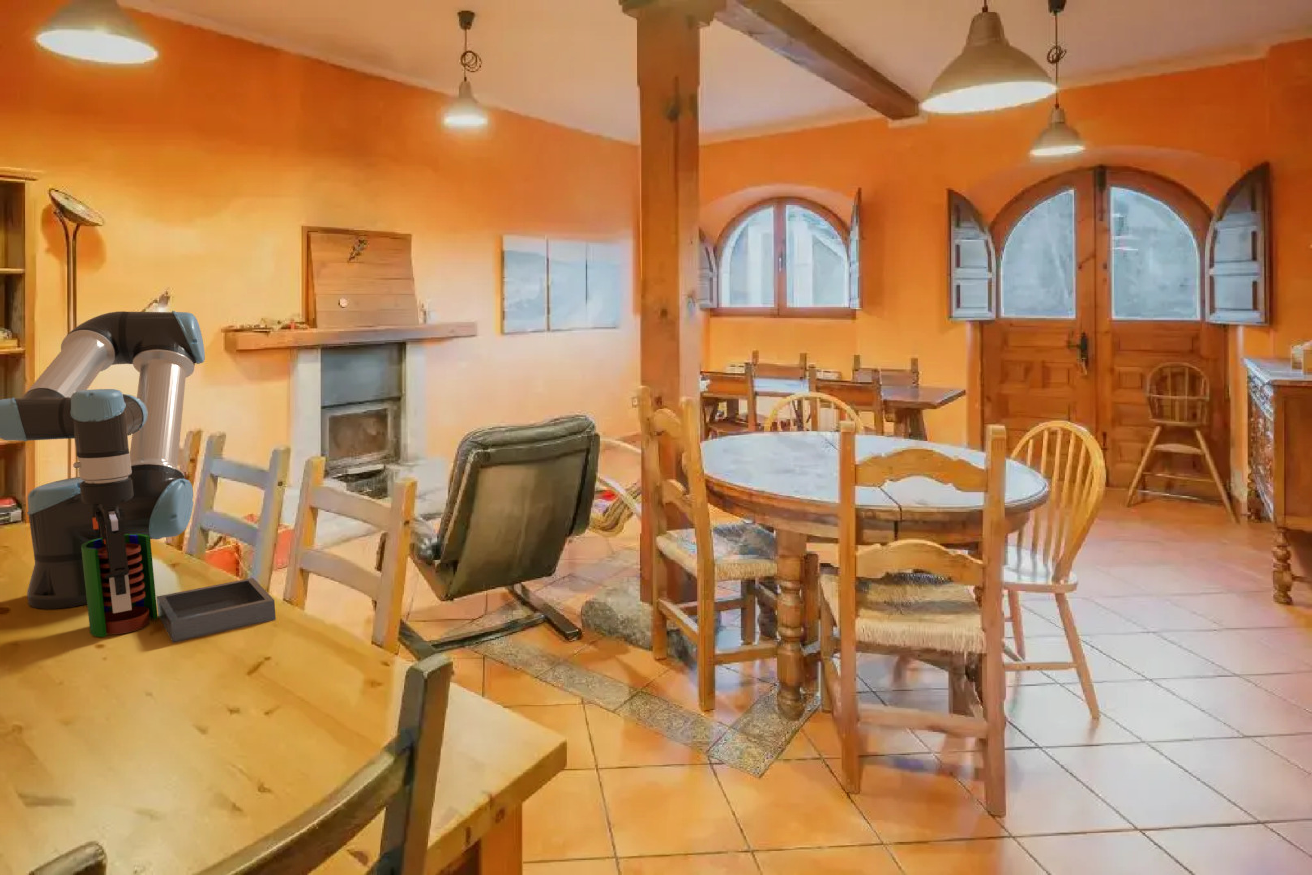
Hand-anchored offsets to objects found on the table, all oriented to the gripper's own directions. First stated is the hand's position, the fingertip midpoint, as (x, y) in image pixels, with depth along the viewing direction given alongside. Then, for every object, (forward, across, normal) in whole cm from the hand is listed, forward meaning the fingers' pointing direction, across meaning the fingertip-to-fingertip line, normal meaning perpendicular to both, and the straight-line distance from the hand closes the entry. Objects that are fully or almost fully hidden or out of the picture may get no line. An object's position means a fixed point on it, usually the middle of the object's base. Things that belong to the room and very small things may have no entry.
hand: (119, 604), depth 141 cm
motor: (+4, 0, 0) cm, 4 cm away
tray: (+4, +6, +14) cm, 16 cm away
